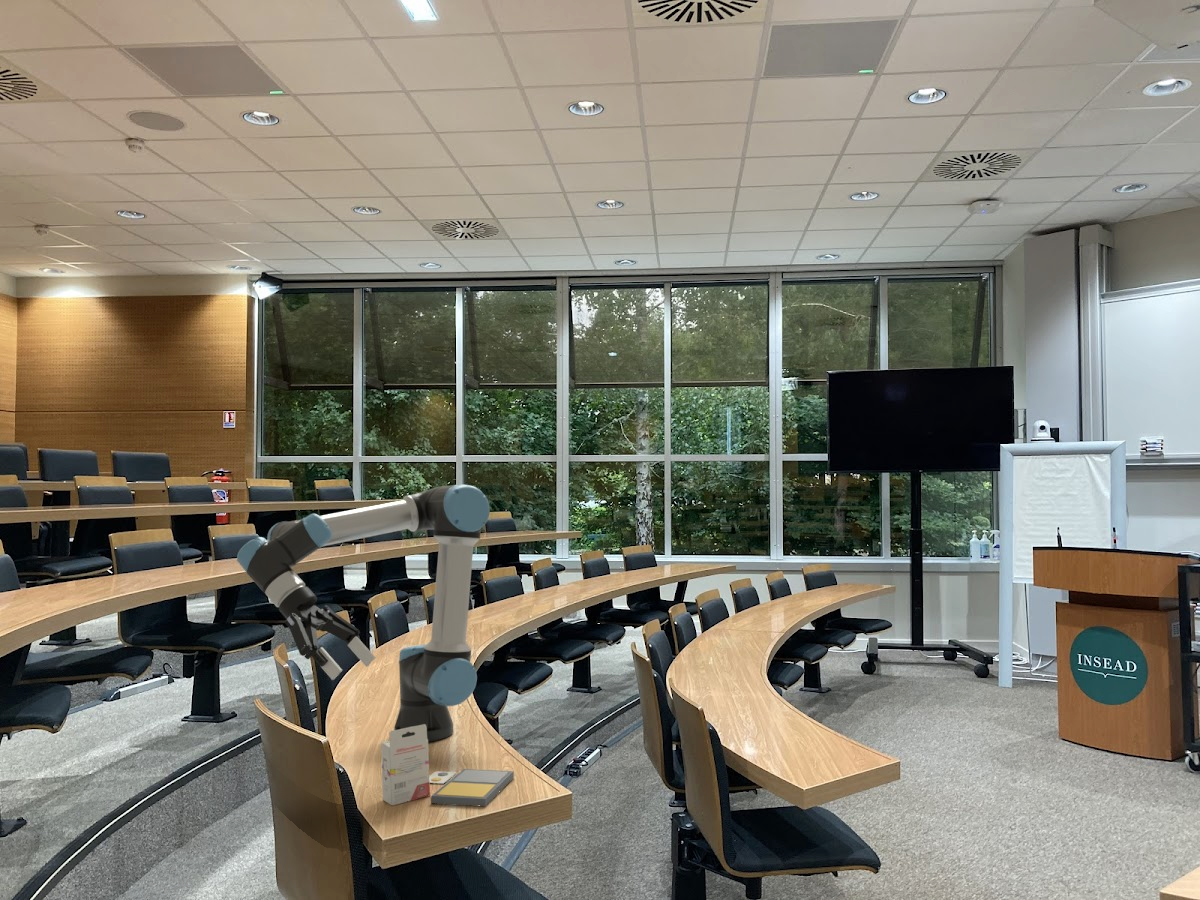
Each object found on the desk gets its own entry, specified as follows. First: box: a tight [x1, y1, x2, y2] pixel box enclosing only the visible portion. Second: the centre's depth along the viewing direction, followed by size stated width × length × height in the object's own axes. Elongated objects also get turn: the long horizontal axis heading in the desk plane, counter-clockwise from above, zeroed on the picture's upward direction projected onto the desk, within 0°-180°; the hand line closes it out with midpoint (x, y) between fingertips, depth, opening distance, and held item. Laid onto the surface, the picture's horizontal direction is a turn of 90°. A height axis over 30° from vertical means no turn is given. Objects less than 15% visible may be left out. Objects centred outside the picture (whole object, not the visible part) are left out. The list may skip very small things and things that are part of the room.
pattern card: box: [429, 770, 458, 785], centre depth 182 cm, size 7×5×1 cm
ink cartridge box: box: [380, 724, 431, 806], centre depth 171 cm, size 9×5×15 cm, turn 126°
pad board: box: [430, 768, 515, 807], centre depth 174 cm, size 17×12×2 cm
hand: (355, 668), depth 177 cm, fingers open, 13 cm apart
